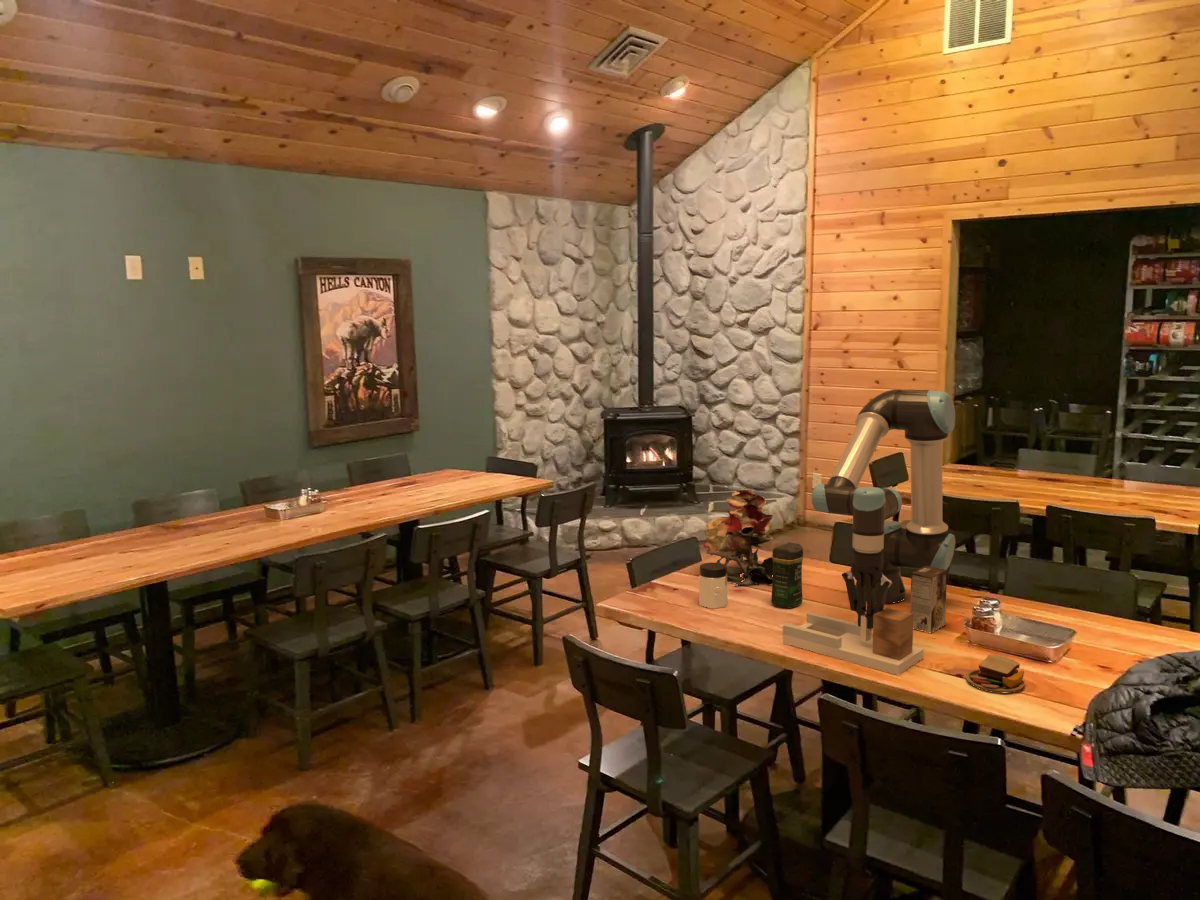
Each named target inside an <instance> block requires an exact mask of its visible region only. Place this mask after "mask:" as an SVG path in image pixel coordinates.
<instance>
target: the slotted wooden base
mask: <svg viewBox="0 0 1200 900" xmlns="http://www.w3.org/2000/svg"><path fill="white" fill-rule="evenodd" d="M860 634H861V627H859V626H858V622H853V621H849V620H845V619H841V618H837V617H832V616H830V615H825V614H820V613H815V612H808V613H806V622H805V623H803V624H801V625H795V624H791V623H784V624H783V625H782V644H783V643H786V644H785V645H787V644H790V645H789V646H791V645H793V646H792V647H794V646H796V647H795V648H798V647H800V648H799V649H801V648H803V649H802V650H805V649H806V650H805V651H809V650H810V651H809V652H812V651H813V653H817V654H819V653H821V654H820V655H824V656H827V657H831V658H834V659H838V660H841V661H844V662H845V661H846V662H849V663H853V664H856V665H859V666H864V667H867V668H870V669H874V670H878V671H881V672H886V673H888V672H889V673H888V674H892V675H895V674H896V676H899V675H901V674H902V673H904V672H905V671H907V670H908V669H910V668H911V667H913V666H914V665H916V664H917V663H919V662H920V661H921V660H920V659H922V658H923V659H924V654H925V653H924V651H925V650H924V648H922V647H918V646H913V645H912V653H911V654H909V655H907V656H906V657H904V658H903V659H901V660H900V661H899V660H895V659H892V658H888V657H884V656H880V655H877V654H873V635H871V639H870V640H868V641H867V642H864V641H860ZM923 659H922V660H923ZM919 660H920V661H919ZM918 661H919V662H918ZM916 662H917V663H916ZM915 663H916V664H915ZM913 664H914V665H913ZM912 665H913V666H912ZM910 666H911V667H910ZM909 667H910V668H909ZM907 668H908V669H907ZM906 669H907V670H906ZM904 670H905V671H904ZM903 671H904V672H903ZM901 672H902V673H901ZM900 673H901V674H900ZM898 674H899V675H898Z"/></svg>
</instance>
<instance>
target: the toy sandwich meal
mask: <svg viewBox="0 0 1200 900" xmlns="http://www.w3.org/2000/svg"><path fill="white" fill-rule="evenodd" d="M1019 668H1020V663H1019V662H1018V661H1017V660H1014V659H1012V658H1009V657H1007V656H1003V655H999V654H987V657H985V658H984V660H982V661H981V662H980V663H978V668H977V669H972V670H969V671H967V672H966V673H965V679H966V680H967V682H968V683H969V684H970V683H971V684H972V685H971V684H970V685H971V686H973V685H974V686H973V687H975V686H976V687H978V688H977V689H979V688H980V689H979V690H981V689H983V690H982V691H985V690H987V691H986V692H989V691H992V692H991V693H994V692H1013V693H1015V692H1014V691H1016V692H1018V691H1020V690H1021V689H1022V688H1024V686H1025V681H1024V680H1023V679H1024V675H1025V670H1020V671H1019V670H1018V669H1019ZM976 687H975V688H976ZM1017 690H1018V691H1017Z"/></svg>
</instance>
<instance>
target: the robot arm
mask: <svg viewBox="0 0 1200 900" xmlns="http://www.w3.org/2000/svg"><path fill="white" fill-rule="evenodd" d="M955 421H956V409H955V403H954V401H953V398H952V397H951V395H950V394H949V393H948V392H946V391H942V390H933V389H896V388H895V389H890V390H889V389H888V390H887V391H884V392H881V393H880V394H878V395H876V396H875V397H874V398H872V399H871V400H870V401H868V402H866V404H865V405H864V406H863V407H862V409H861V410H860V411H859V413H858V414H857V416H856V419H855V429H854V430H853V433H852V434H851V437H850V438H849V440H848V442H847V444H846V446H845V448H844V450H843V452H842V454H841V456H840V458H839V460H838V462H837V464H836V466H835V468H834V470H833V473H832V474H831V476H830V478H829V480H828V481H827V484H826V483H818V484H817V485H815V486H814V487H813V490H812V493H811V504H812V507H813V509H814V510H815V511H816V512H820V513H827V514H833V515H834V514H836V515H844V516H852V539H851V541H852V543H851V545H852V548H853V549H851V550H852V551H851V564H852V565H851V567H850V570H847V571H845V572H843V573H841V576H842V580H844V582H845V587H846V593H847V599H848V602H849V606H850V611H852V612H855V613H856V614H857V623H858V626H859V627H861V634H860V641H864V642H867V641H868V640H870V639H871V636H872V630H873V615H874V614H876V613H877V612H879V611H881V610H883V609H885V605H886V604H885V603H892V604H894V603H893V602H898V601H901V600H903V599H905V597H907V594H906V593H907V591H906V588H905V584H904V581H903V578H902V575H901V574H902V573H901V568H905V569H912V570H918V569H920V568H922V567H924V566H930V567H935V568H939V569H944V570H948V568H949V567H950V565H951V562H952V560H953V556H954V553H955V548H956V537H955V535H954V534H952V532H951V533H949V526H948V524H947V523H945V522H944V521H943V443H945V441H946V440H947V439H948V438H949V434H950V433H951V432H953V431H954V430H955V429H954V428H955V427H956V422H955ZM892 430H895V431H896V430H897V431H904V438H905V440H907V442H909V444H910V498H911V499H910V504H911V507H910V509H911V512H910V513H911V514H910V515H911V516H910V518H911V520H910V521H909V522H908V523H907V524H906V526H905V528H903V525H902V523H901V522H900V521H896V520H888V519H889V518H892V517H894V516H896V515H897V514H898V513H899V512H900V510H901V508H902V505H903V500H902V496H901V494H900V493H899V492H898V491H897V490H896V489H894V488H892V487H882V488H880V487H877V486H876V487H875V486H862V487H858V486H859V485H860V482H861V480H862V478H863V476H864V474H865V472H866V470H867V468H868V466H869V464H870V461H871V459H872V457H873V456H874V453H875V451H876V449H877V448H878V446H879V443H880V441H881V439H882V438H884V437H885V436H886V435H887V434H888V433H889V432H890V431H892ZM905 600H906V599H905Z"/></svg>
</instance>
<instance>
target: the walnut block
mask: <svg viewBox="0 0 1200 900" xmlns="http://www.w3.org/2000/svg"><path fill="white" fill-rule="evenodd" d="M872 636H873V654H877V655H880V656H884V657H888V658H892V659H895V660H899V661H900V660H901V659H903V658H904V657H906V656H907V655H909V654H911V653H912V646H913V644H914V643H913V641H914V630H913V613H910V612H907V611H904V610H903V611H902V610H900V609H899V610H898V609H893V608H890V607H884V608H883V610H881V611H879V612H877V613H876V614H874V615H873V628H872Z"/></svg>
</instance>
